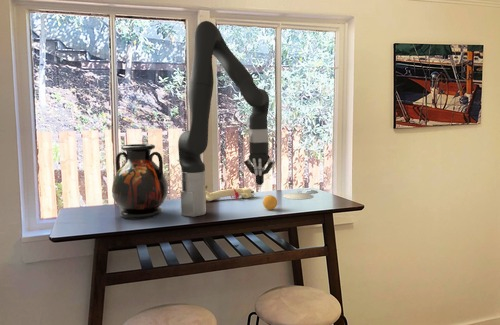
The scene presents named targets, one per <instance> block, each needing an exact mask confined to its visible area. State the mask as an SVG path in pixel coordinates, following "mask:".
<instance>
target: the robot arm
mask: <svg viewBox="0 0 500 325" xmlns="http://www.w3.org/2000/svg"><path fill="white" fill-rule="evenodd" d="M193 46H194V47H193V60H192V66H191V72H190V79H189V86H188V87H189V88H188V105H189V108H190V115H191V118H190V119H191V121H190V128H189V130H185V131H183V132H182V133H181V134H179V138H178V141H177V142H178V143H177V145H178V146H177V148H178V161H179V165H180V168H181V192H180V206H181V207H180V208H181V209H180V210H181V216H185V217H192V218H193V217H194V218H195V217H197V216H198V217H199V216H200V217H201V216H204V215H205V214H206V213H207V206H206V205H207V200H206V195H207V194H206V193H205V190H206V189H205V185H206V166H205V163H204V162H203V161H202V158H201V155H202V154H204V153H205V151H206V150H207V147H208V144H209V121H210V120H209V119H210V113H211V105H212V104H211V103H212V97H213V92H214V83H215V82H214V69H213V57H215V59H217V61H218V62H219V63H220V65H221V66H222V68H223V69H224V71H225V72H226V74H227V75H228V77H229V78H230V79H231V81H232V82H233V84H234V85H235V86H236V87H237V88H238V91H239V92H240V94H241V95H242V97H243V99H244V100H245V102H246V103H247V104H248V105H249V106H250V107H251V108H252V110H251V114H250V115H249V119H248V123H249V124H248V126H249V132H248V133H249V134H248V147H249V148H248V150H249V151H248V152H249V156H248V159H247V160H246V159H245V160H244V161H243V163H244V165H245V166H246V168H247V169H248V170H249V172H250V173H251V174H252V175H254V177H255V183H256V185H257V186H262V185H263V184H264V182H265V181H264V180H265V178H264V175H267V174H268V173H269V172H270V171H271V170H272V168H273V167H274V165H275V164H276V163H275V161H274V160H272V159H271V157H270V154H269V153H270V152H269V151H270V150H269V147H270V146H269V140H270V138H269V131H268V116H269V110H270V108H269V107H270V97H269V96H270V95H269V93H268V92H267V91H266V90H265V89H262V88H259V87H258V86H257V84H256V82H254V77H253V76H252V74H251V73H250V72H249V71H248V69H247V68H246V66H244V65H243V63H242V62H241V61H240V59H239V58H237V57H236V56H235V54H234V53H233V51H231V49H230V47H229V46H228V44H227V43H226V41H225V39H224V38H223V35H222V33H221V31H220V30H219V29H218V27H217V26H216V25H215V24H214V23H213V22H211V21H210V20H204V21H201V22H199V24H198V25H196V27H195V30H194V43H193Z"/></svg>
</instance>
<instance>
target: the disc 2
mask: <svg viewBox="0 0 500 325" xmlns="http://www.w3.org/2000/svg"><path fill="white" fill-rule="evenodd" d="M300 190H301V189H298V190H297V191H296V193H302V191H300ZM310 190H311V191H307V192H306V193H305V194H310V195H313V194H312V193H314V194H317V193H318V191H317V190H314V189H310Z"/></svg>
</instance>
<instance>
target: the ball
mask: <svg viewBox="0 0 500 325" xmlns="http://www.w3.org/2000/svg"><path fill="white" fill-rule="evenodd" d="M262 205H263V207H264V208H265V209H266V210H269V211H272V210H274V209H275V208H277V205H278V199H277V198H276V197H275V196H274V195H272V194H270V195H266V196H265V197H264V198H263V199H262Z"/></svg>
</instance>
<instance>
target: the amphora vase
mask: <svg viewBox="0 0 500 325" xmlns="http://www.w3.org/2000/svg"><path fill="white" fill-rule="evenodd" d="M154 149H156V145H155V144H151V143H135V144H134V143H133V144H131V143H130V144H125V145H122V146H121V150H123V151H119V152H118V153H117V155H116V157H115V168H116V169H115V171H116V172H115V173H116V174H115V175H114V178H113V180H112V181H113V182H112V187H111V194H112V199H113V201H114V202H115V203H116V205H117V206H118V207H119V208H121V210H120V211H119V215H120V216H121V217H122V218H124V219H128V220H146V219H151V218H152V219H153V218H155V217H157V216H160V215H161V214H162V213H163V208H162V207H161V206H162V204H164V202H165V200H166V199H167V197H168V193H169V186H168V181H167V179H166V176H165V173H164V167H163V166H164V161H163V156H162V154H161V153H159V152H158V151H152V150H154ZM151 151H152V153H151ZM122 155H123V157H124V158H125V162H124V163H123V164H122V165H121V162H120V161H121V157H122ZM154 156H157V158H158V165H157V164H156V162H154V160H153V158H154Z"/></svg>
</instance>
